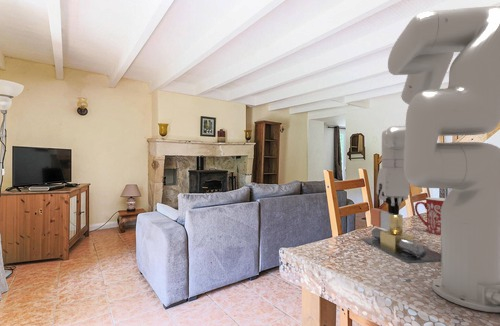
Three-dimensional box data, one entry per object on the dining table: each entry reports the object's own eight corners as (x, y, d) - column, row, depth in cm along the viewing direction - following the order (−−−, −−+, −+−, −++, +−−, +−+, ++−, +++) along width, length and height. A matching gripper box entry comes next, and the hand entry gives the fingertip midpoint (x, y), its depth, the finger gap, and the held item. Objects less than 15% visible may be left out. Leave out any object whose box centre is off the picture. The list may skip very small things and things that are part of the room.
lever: (405, 234, 82) (405, 215, 82) (394, 234, 81) (394, 215, 81) (377, 224, 95) (377, 208, 95) (368, 224, 95) (368, 208, 95)
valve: (452, 260, 74) (452, 242, 74) (407, 263, 72) (407, 244, 72) (396, 238, 95) (396, 224, 96) (361, 240, 93) (361, 225, 93)
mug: (453, 232, 104) (453, 198, 104) (453, 237, 97) (453, 201, 97) (416, 227, 112) (416, 196, 112) (413, 231, 105) (413, 198, 105)
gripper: (404, 164, 97) (404, 213, 97) (367, 164, 95) (367, 215, 95) (420, 164, 90) (420, 218, 90) (381, 164, 87) (381, 219, 87)
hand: (393, 216), depth 92 cm, fingers closed
